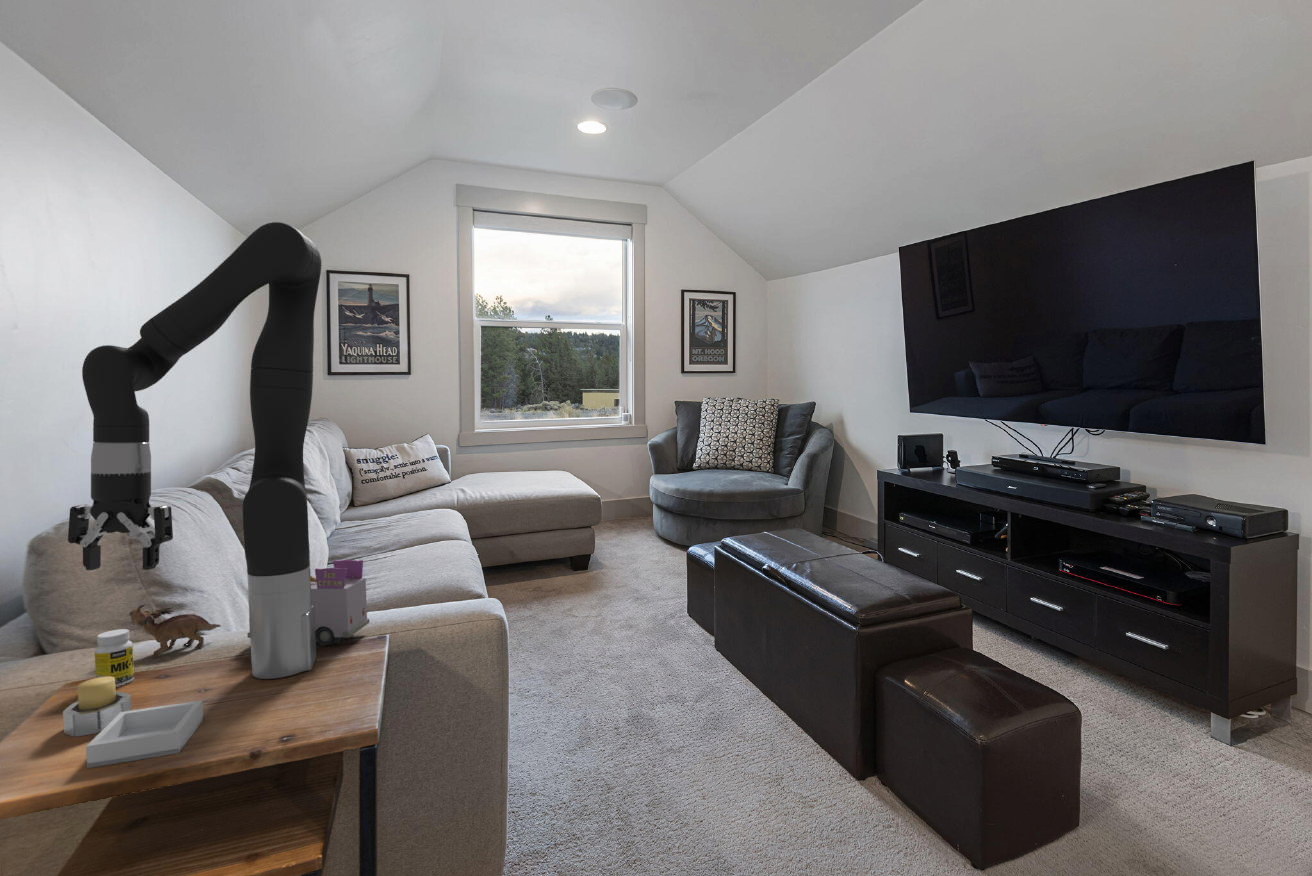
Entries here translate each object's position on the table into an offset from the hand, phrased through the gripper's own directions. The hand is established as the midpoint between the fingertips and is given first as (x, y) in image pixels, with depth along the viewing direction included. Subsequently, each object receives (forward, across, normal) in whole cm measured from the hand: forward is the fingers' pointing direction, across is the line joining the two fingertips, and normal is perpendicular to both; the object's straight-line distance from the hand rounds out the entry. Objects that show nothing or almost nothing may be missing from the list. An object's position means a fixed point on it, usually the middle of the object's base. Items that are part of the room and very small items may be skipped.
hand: (121, 569), depth 104 cm
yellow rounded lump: (+16, -7, +14) cm, 22 cm away
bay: (+19, -18, +21) cm, 33 cm away
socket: (+19, -7, +14) cm, 25 cm away
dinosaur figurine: (+19, 0, -15) cm, 24 cm away
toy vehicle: (+18, -23, -17) cm, 33 cm away
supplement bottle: (+19, +1, 0) cm, 19 cm away
